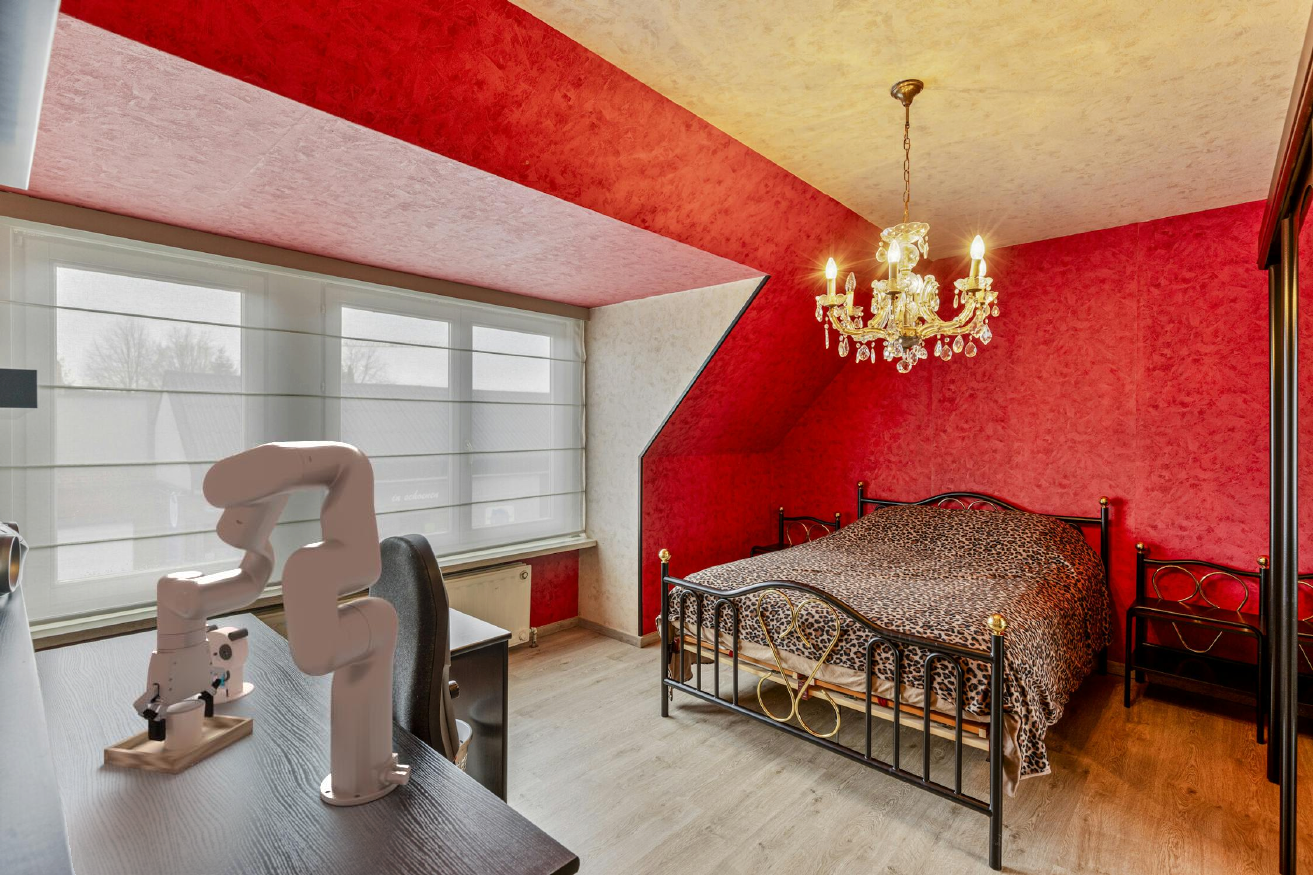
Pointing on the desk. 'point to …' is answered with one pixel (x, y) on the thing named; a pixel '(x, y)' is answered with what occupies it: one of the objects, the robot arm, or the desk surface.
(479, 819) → the desk surface
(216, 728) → the tray
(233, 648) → the panda figurine
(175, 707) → the white cup
